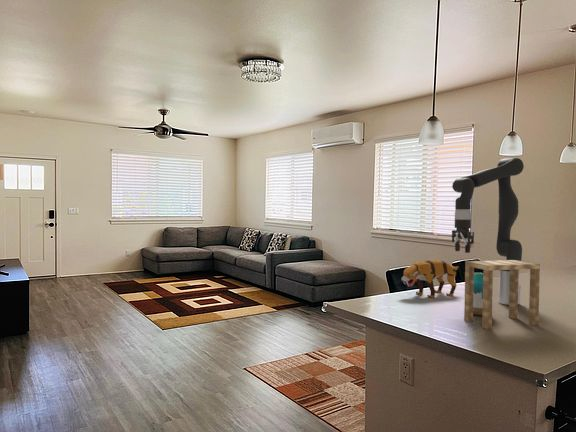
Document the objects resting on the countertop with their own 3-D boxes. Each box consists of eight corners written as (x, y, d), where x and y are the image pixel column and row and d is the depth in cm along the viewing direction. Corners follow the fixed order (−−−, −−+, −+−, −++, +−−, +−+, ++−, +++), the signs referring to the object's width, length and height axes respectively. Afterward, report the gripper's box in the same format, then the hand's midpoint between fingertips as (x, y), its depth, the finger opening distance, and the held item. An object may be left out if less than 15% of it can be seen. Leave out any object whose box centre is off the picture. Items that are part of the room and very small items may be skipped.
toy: (395, 295, 243) (395, 260, 242) (450, 291, 258) (450, 257, 258) (409, 300, 231) (410, 262, 231) (466, 295, 247) (466, 259, 246)
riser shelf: (513, 316, 198) (514, 259, 197) (538, 325, 184) (539, 264, 184) (464, 320, 191) (465, 261, 190) (486, 329, 178) (487, 265, 177)
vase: (493, 318, 195) (494, 275, 194) (468, 316, 197) (469, 274, 197) (487, 312, 205) (488, 272, 205) (464, 311, 207) (464, 271, 207)
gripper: (479, 219, 209) (478, 253, 210) (460, 218, 223) (459, 250, 223) (465, 219, 207) (465, 253, 208) (447, 218, 221) (446, 250, 222)
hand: (462, 251), depth 216 cm, fingers open, 7 cm apart
